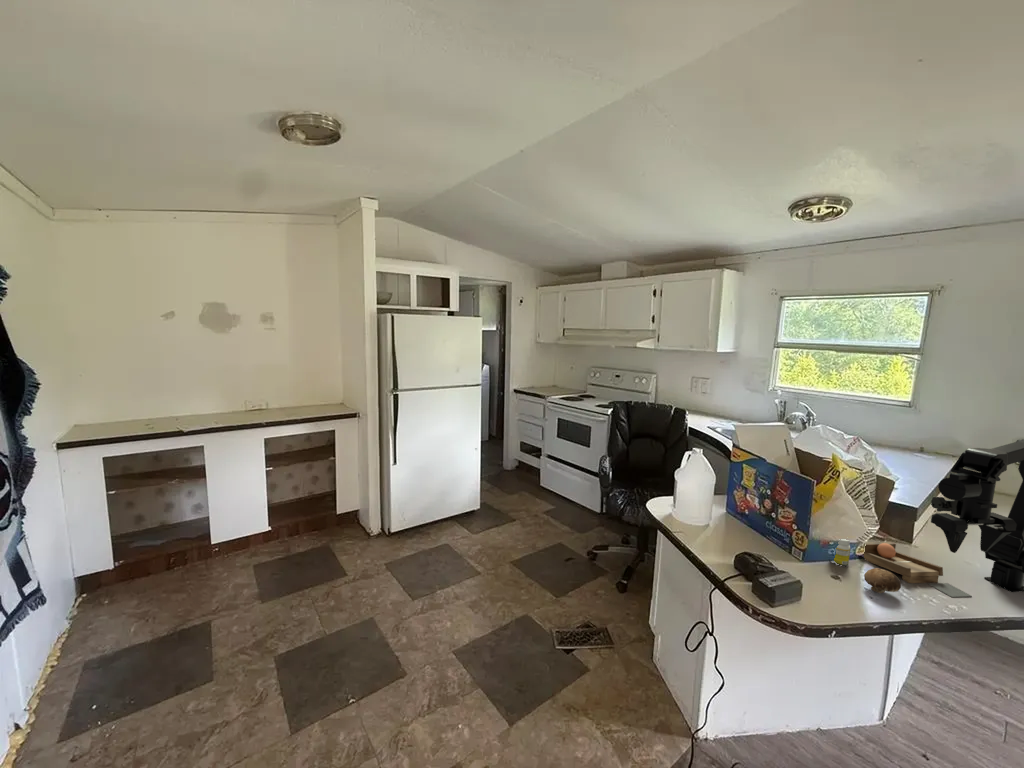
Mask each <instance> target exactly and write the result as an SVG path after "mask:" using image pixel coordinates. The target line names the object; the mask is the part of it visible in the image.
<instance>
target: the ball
mask: <svg viewBox="0 0 1024 768" xmlns="http://www.w3.org/2000/svg"><path fill="white" fill-rule="evenodd" d="M877 551H878V553H879V554H880V555H881V556H882V557H884V558H893V557H894V556H895V554H896V552H897V551H896V548H895V549H894V547H893V546H891V545H890V544H887V543H882V544H879V545H878V547H877Z"/></svg>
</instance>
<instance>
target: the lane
mask: <svg viewBox="0 0 1024 768" xmlns="http://www.w3.org/2000/svg"><path fill="white" fill-rule="evenodd" d="M865 542H866V546H865V552H864V558H865V559H866V560H865V559H864V560H865V561H866V562H868V563H871V564H874V565H876V566H879V567H881V568H883V569H885V570H888V571H890V572H891V571H892V572H894V573H897V574H900V575H901V577H902V578H901V579H902V580H903V581H904V582H906V583H908V584H926V583H927V584H931V583H939V577H942V576H943V577H944V571H943V570H944V568H943V566H940V565H937V564H934V563H931V562H927V561H926V560H922V559H919V558H916V557H913V556H911V555H907V554H904V553H902V552H898V551H896V554H895V556H894V557H893V558H884V557H882V556H881V555H880V554H879V553H878V551H877V547H878V545H879V544H882V543H887V544H890V545H891V546H893V547H894V549H895V550H896V547H897V544H896V543H895V542H893V541H871V542H869V541H868V542H867V541H865Z"/></svg>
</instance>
